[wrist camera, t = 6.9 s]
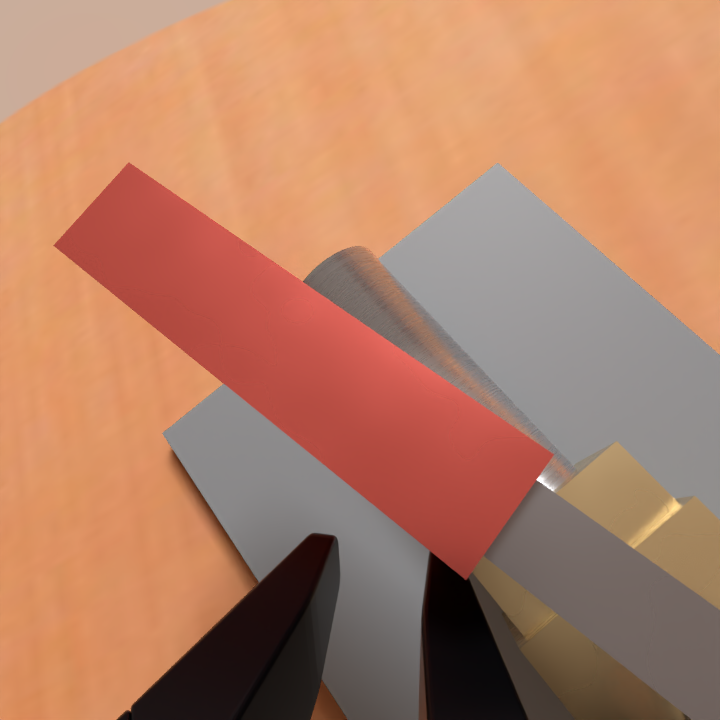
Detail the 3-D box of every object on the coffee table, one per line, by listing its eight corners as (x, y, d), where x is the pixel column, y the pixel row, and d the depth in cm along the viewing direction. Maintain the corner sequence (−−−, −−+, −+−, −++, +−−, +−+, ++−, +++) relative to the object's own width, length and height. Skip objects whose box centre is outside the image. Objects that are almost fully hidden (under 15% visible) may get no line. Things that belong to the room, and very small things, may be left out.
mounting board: (1448, 1014, 10) (1525, 1052, 10) (918, 1573, 10) (958, 1661, 9) (496, 177, 19) (497, 162, 18) (174, 437, 18) (162, 433, 17)
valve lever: (970, 748, 7) (1387, 927, 4) (865, 945, 7) (1228, 1320, 4) (241, 244, 11) (155, 132, 8) (151, 351, 11) (24, 277, 8)
